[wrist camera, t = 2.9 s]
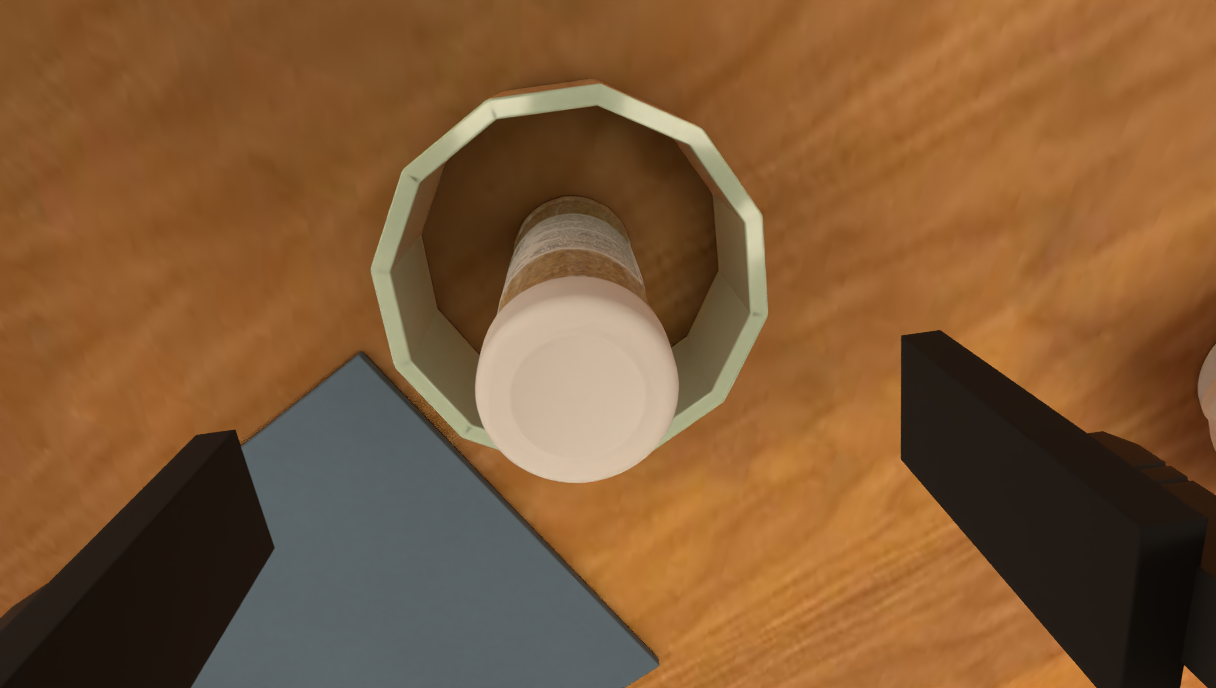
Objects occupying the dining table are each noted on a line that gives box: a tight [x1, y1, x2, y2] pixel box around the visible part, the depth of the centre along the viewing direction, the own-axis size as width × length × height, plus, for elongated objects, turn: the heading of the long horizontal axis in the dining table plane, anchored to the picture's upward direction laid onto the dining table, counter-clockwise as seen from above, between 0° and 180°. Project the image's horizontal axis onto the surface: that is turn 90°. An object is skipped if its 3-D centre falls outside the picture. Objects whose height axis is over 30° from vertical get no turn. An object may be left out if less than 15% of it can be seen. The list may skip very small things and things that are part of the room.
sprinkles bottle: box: [475, 196, 679, 483], centre depth 23 cm, size 5×5×13 cm
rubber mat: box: [191, 352, 659, 688], centre depth 35 cm, size 20×18×1 cm
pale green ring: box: [371, 79, 768, 451], centre depth 27 cm, size 12×12×6 cm
